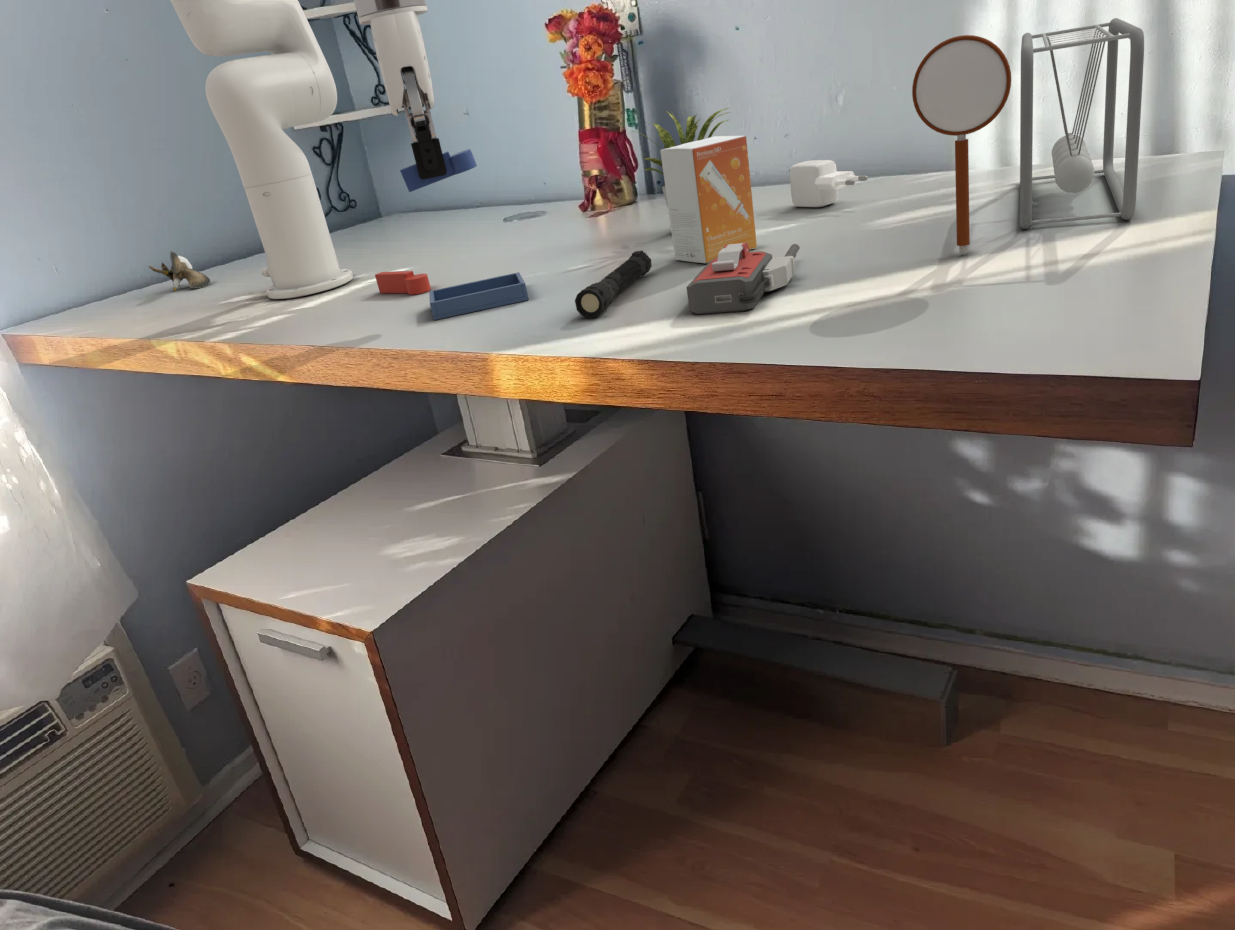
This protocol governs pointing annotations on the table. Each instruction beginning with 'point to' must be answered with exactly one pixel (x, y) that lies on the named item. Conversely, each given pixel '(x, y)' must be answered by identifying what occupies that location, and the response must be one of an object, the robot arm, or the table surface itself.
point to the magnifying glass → (961, 102)
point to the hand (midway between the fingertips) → (433, 175)
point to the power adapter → (818, 182)
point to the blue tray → (477, 295)
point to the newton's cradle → (1071, 149)
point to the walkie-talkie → (739, 279)
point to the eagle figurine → (182, 272)
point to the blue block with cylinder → (453, 166)
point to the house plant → (682, 137)
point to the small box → (709, 196)
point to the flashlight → (611, 285)
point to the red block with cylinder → (402, 282)
